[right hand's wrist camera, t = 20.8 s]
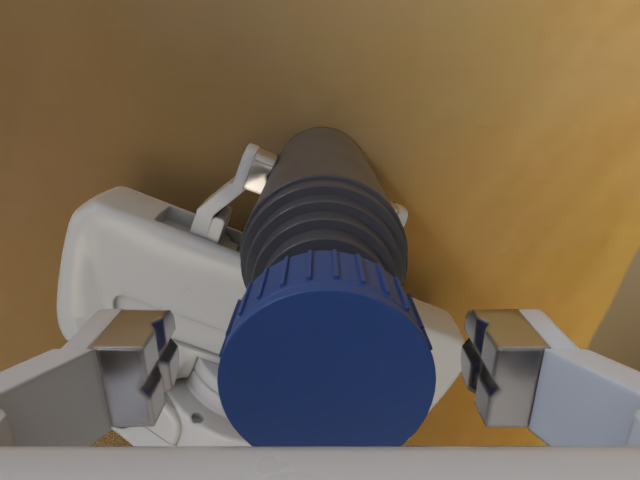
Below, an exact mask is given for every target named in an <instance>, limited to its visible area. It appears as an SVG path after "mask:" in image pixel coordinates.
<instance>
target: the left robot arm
mask: <svg viewBox="0 0 640 480" xmlns="http://www.w3.org/2000/svg"><path fill="white" fill-rule="evenodd" d="M278 157H279V155H278V154H276V153H274V152H272V151H269V150H267V149H265V148H262V147H260V146H258V145H255V144H253V143H249V144H248V146H247V147H246V149H245V151H244V154H243V156H242V159H241V161H240V164H239V167H238V170H237V173H236V175H235V177H233V178H232V179H231V180H230V181H228V182H227V183H226V184H224V185H223V186H222V187H221V188H219V189H218V190H217V191H216V192H214V193H213V194H212V195H211V196H209V197H208V198H207V199H206V200H205V201H204V202H203V203H202V205H201V206H200V207H199V208H198V209H197V211H196V214H195V213H193V212H190V211H187V210H185V209H182V208H180V207H177V206H175V205H172V204H169V203H167V202H164V201H162V200H159V199H156V198H154V197H151V196H149V195H146V194H144V193H141V192H138V191H136V190H133V189H131V188H128V187H125V186H117V187H114V188H112V189H110V190H107V191H105V192H103V193H100V194H98V195H96V196H94V197H92V198H91V199H89V200H88V201H86V202H85V203H83V204H82V205H81V206H79V207H78V208H77V209H76V211H75V212H74V213H73V215H72V217H71V219H70V221H69V225H68V228H67V232H66V236H65V241H64V246H63V251H62V257H61V264H60V271H59V279H58V290H57V319H58V324H59V327H60V330H61V332H62V334H63V336H64V338H65V339H66V340H67V342H68V341H69V340H70V339H71V338H72V337H73V336H74V335H75V334H76V333H77V331H78V330H79V329H80V328H81V327H82V326H83V325H84V324H85V323H86V322H87V321H88V320H89V319H90V318H91V317H92V316H93V315H94V314H95V313H96V312H97V311H98V310H101V309H144V310H171V312H172V313H173V315H174V320H175V326H176V329H175V331H174V332H173V334H172V336H171V339H172V340H173V341H174V342H175V343H176V344H177V345H178V350H179V369H178V374H177V379H176V382H175V384H174V386H173V388H172V389H171V390H170V391H168V392H167V393H165V394H164V396H165V405H164V407H163V409H162V412H161V414H160V416H159V418H158V420H157V422H156V424H155V426H151V427H115V428H111V429H112V430H113V431H115V432H116V433H118V434H119V435H120V436H122V437H123V438H124V439H125V440H127V441H128V442H129V443H130V444H131V445H133V446H251V445H250V444H249V443H248V442H247V441H245V440H244V439H243V438H242V437H241V436H240V435H239V433H238V432H237V431H236V430H235V429H234V427H233V426H232V424H231V423H230V421H229V420H228V418H227V416H226V414H225V412H224V410H223V407H222V405H221V401H220V397H219V394H218V384H217V376H218V366H219V362H220V357H219V353H220V350H221V348H222V345H223V342H224V339H225V337H226V335H225V334H226V331H227V328H228V325H229V323H230V320H231V317H232V314H233V312H234V309H235V306H236V304H237V301H238V299H240V300H241V299H242V298H243V296H244V294H245V292H246V287H245V285H244V282H243V278H242V273H241V265H240V263H241V260H240V243H241V237H242V233H243V232H242V231H239V230H237V229H234V228H231V227H229V226H228V223H229V220H230V217H231V214H232V211H233V210H232V208H231V207H229V206H226V205H227V204H229V203H230V202H231V201H232V200H234V199H235V198H236V197H237V196H239V195H240V194H241V193H242V192H244V191H245V190H249V191H252V192H254V193H257V194H261V192H262V190H263V188H264V186H265V184H266V182H267V180H268V178H269V176H270V174H271V172H272V170H273V168H274V166H275V164H276V162H277V160H278ZM389 201H390V200H389ZM390 202H391V204H392V206H393V208H394V209H395V211H396V213H397V215H398V217H399V218H400V221H401V223H402V225H403V228H404V226H405V224H406V222H407V218H408V211H407V210H406V208H405V207H404V206H402V205H400V204H397V203H395V202H392V201H390ZM412 299H413V301H414V303H415V306H416V308H417V311H418V313H419V315H420V318H421V320H422V323H423V325H424V327H425V331H426V333H427V336H428V338H429V340H430V343H431V345H432V349H433V350H431V353H432V355H433V359H434V364H435V369H436V387H435V393H434V397H433V401H432V405H431V407H430V409H429V412H430V411H431V410H432V408H433V407H434V406H435V405H436V404H437V403H438V401H439V400H440V399H441V398H442V397H443V395H444V394H445V393H446V392H447V390H448V389H449V388H450V387H451V385H452V384H453V383H454V381H455V380H456V379H457V377H458V376H459V375H460V373H461V372H462V369H461V351H462V345H463V344H464V343H465V341H464V338H463V336H462V334H461V332H460V330H459V328H458V326H457V324H456V323H455V321H454V319H453V318H452V316H451V315H450V314H449V313H448V312H447V311H445V310H443V309H441V308H438V307H436V306H433V305H431V304H428V303H425V302H423V301H420V300H418V299H415V298H413V297H412ZM429 412H428V413H429ZM411 437H412V436H411ZM411 437H410V438H411ZM410 438H409V439H410ZM409 439H408V440H409ZM408 440H407V441H408Z"/></svg>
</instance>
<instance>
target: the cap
mask: <svg viewBox="0 0 640 480" xmlns="http://www.w3.org/2000/svg"><path fill="white" fill-rule="evenodd" d="M225 335H226V337H225V339H224V342H223V345H222V348H221V350H220V353H219V357H220V362H219V366H218V376H217V384H218V394H219V397H220V401H221V405H222V407H223V410H224V412H225V414H226V416H227V418H228V420H229V421H230V423H231V424H232V426H233V427H234V429H235V430H236V431H237V432H238V433H239V435H240V436H241V437H242V438H243V439H244V440H245V441H247V442H248V443H249V444H250V445H251V446H401V445H403V444H404V443H405V442H406V441H407V440H408V439H409V438H410V437H411V436H412V435H413V434H414V433H415V432H416V431H417V429H418V428H419V427H420V426H421V424H422V423H423V421H424V419H425V418H426V416H427V414H428V412H429V409H430V407H431V405H432V401H433V397H434V393H435V387H436V369H435V364H434V359H433V355H432V353H431V350H433V349H432V345H431V343H430V340H429V338H428V336H427V333H426V331H425V327H424V325H423V323H422V320H421V318H420V315H419V313H418V311H417V308H416V306H415V303H414V301H413V299H412V296H411V294H410V293H409V294H407V293H406V292H405V290H404V288H403V287H402V286H401V283H400V281H399V278H398V277H397V276H396V277H395V278H394V277H393V276H392V275H391V274H390V273H389V272H387V271H386V270H385V269H383V268H382V265H381V264H380V263H377V264H375V263H373V262H371V261H370V260H368V259H365V258H362V257H361V256H360V254H357V253H356V255H353V254H349V253H345V252H337V250H336V249H332V251H315V252H312V250H308V253H303V254H299V255H295V256H292V257H290V258H289V256H286V257H285V258H284V260H282V261H280V262H278V263H277V264H275V265H273V266H271V267H270V268H268V267H266V268H264V272H263V273H262V274H261V275H260V276H259V277H258V278H257V279H256V280H255V281H254V282H253V283H252V282H251V281H250V282H249V284H248V286H247V289H246V292H245V294H244V296H243V298H242V299H241V300H240V299H238V301H237V304H236V306H235V309H234V312H233V314H232V317H231V320H230V323H229V325H228V328H227V331H226V334H225Z"/></svg>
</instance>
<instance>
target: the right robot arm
mask: <svg viewBox="0 0 640 480" xmlns="http://www.w3.org/2000/svg"><path fill="white" fill-rule="evenodd" d="M175 329H176V326H175V320H174V315H173V313H172V312H171V310H144V309H101V310H98V311H97V312H96V313H95V314H94V315H93V316H92V317H91V318H90V319H89V320H88V321H87V322H86V323H85V324H84V325H83V326H82V327H81V328H80V329H79V330H78V331H77V333H76V334H75V335H74V336H73V337H72V338H71V339H70V340H69V341H68V342H67V343H66V344H65V345H64V346H63V347H62V348H61V349H51V350H49V351H47V352H44V353H42V354H40V355H38V356H35V357H33V358H31V359H28V360H26V361H24V362H21V363H19V364H17V365H14V366H12V367H10V368H7V369H5V370H3V371H0V480H640V372H639V371H637V370H635V369H632V368H630V367H628V366H626V365H623V364H621V363H619V362H616V361H614V360H612V359H609V358H607V357H605V356H602V355H600V354H598V353H595V352H593V351H591V350H589V349H579V348H578V347H577V346H576V345H575V344H574V343H573V342H572V341H571V340H570V339H569V338H568V337H567V336H566V335H565V334H564V332H563V331H562V330H561V329H560V328H559V327H558V326H557V325H556V324H555V323H554V322H553V321H552V320H551V319H550V318H549V317H548V316H547V315H546V314H545V313H544V312H543V311H542V310H540V309H499V310H471V311H468V313H467V316H466V319H465V326H464V329H465V331H466V332H467V334H468V336H469V339H468V340H467V341H466V342H465V343H464V344H463V345H462V351H461V369H462V375H463V379H464V382H465V384H466V386H467V388H468V389H469V390H470V391H472V392H473V393H475V394H476V396H475V405H476V407H477V409H478V411H479V414H480V416H481V418H482V420H483V422H484V424H485V426H488V427H525V428H529V429H528V430H530V431H531V432H532V433H533V434H535V435H536V436H537V437H538V438H540V439H541V440H542V441H543V442H545V443H546V444H547V445H548V446H92V445H93V444H94V443H96V442H97V441H98V440H99V439H101V438H102V437H103V436H104V435H105V434H107V433H108V432H109V431H110V430H111V428H115V427H151V426H155V424H156V422H157V420H158V418H159V416H160V414H161V412H162V409H163V407H164V405H165V396H164V394H165V393H167V392H168V391H170V390H171V389H172V388H173V386H174V384H175V382H176V379H177V374H178V369H179V350H178V345H177V344H176V343H175V342H174V341H173V340H172V339H171V336H172V334H173V332H174V331H175Z"/></svg>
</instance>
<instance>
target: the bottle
mask: <svg viewBox="0 0 640 480" xmlns="http://www.w3.org/2000/svg"><path fill="white" fill-rule="evenodd" d="M332 249H336V250H337V252H345V253H349V254H353V255H356V253H357V254H360V256H361V257H362V258H365V259H368V260H370V261H371V262H373V263H375V264H377V263H380V264H381V265H382V268H383V269H385V270H386V271H387V272H389V273H390V274H391V275H392V276H393V277H394V278H395V277H396V276H397V277H398V278H399V281H400V283H401V286H402V287H403V283H404V280H405V277H406V271H407V240H406V235H405V232H404V228H403V225H402V223H401V221H400V218H399V217H398V215H397V213H396V211H395V209H394V208H393V206H392V204H391V202H390V201H389V199H388V197H387V195H386V193H385V192H384V190H383V188H382V186H381V185H380V183H379V181H378V179H377V177H376V176H375V174H374V172H373V170H372V169H371V167H370V165H369V163H368V161H367V160H366V158H365V156H364V154H363V153H362V151H361V149H360V147H359V146H358V145H357V143H356V142H355V141H354V140H353V139H352V138H351V137H349V136H348V135H347V134H345V133H343V132H341V131H339V130H336V129H333V128H327V127H316V128H311V129H308V130H305V131H303V132H301V133H299V134H297V135H296V136H294V137H293V138H292V139H291V140H290V141H289V142H288V143H287V144H286V145H285V147H284V148H283V150H282V152H281V154H280V156H279V158H278V160H277V162H276V164H275V166H274V168H273V170H272V172H271V174H270V176H269V178H268V180H267V182H266V184H265V186H264V188H263V190H262V192H261V194H260V196H259V198H258V200H257V202H256V204H255V206H254V208H253V210H252V212H251V214H250V216H249V218H248V220H247V222H246V224H245V227H244V230H243V233H242V237H241V243H240V260H241V263H240V265H241V273H242V278H243V282H244V285H245V287H246V289H247V286H248V284H249V282H250V281H251V282H252V283H253V282H254V281H255V280H256V279H257V278H258V277H259V276H260V275H261V274H262V273H263V272H264V268H266V267H268V268H270V267H271V266H273V265H275V264H277V263H278V262H280V261H282V260H284V258H285V257H286V256H289V258H290V257H292V256H295V255H299V254H303V253H308V250H312V252H315V251H332Z"/></svg>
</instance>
